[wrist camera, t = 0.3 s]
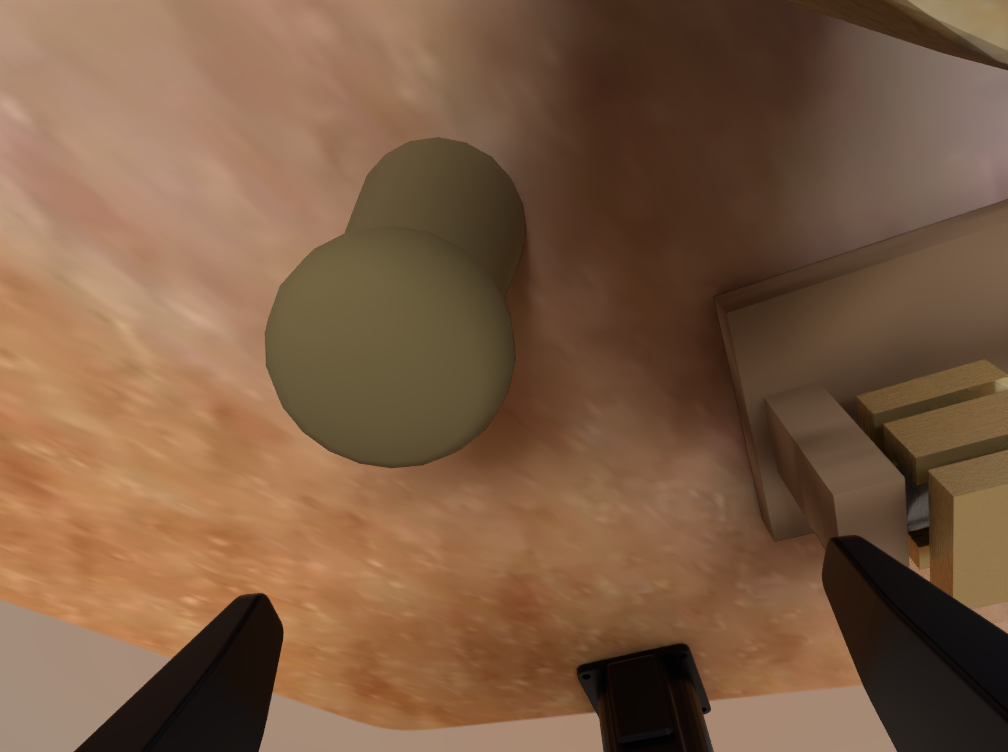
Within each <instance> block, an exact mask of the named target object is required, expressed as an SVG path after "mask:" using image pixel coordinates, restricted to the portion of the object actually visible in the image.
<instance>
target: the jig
mask: <svg viewBox="0 0 1008 752" xmlns="http://www.w3.org/2000/svg"><path fill="white" fill-rule="evenodd" d="M714 300H715V305H716V309H717V314H718V319H719V323H720V328H721V332H722V337H723V341H724V346H725V350H726V355H727V360H728V364H729V369H730V373H731V378H732V382H733V387H734V392H735V396H736V401H737V405H738V410H739V414H740V419H741V424H742V428H743V433H744V437H745V442H746V446H747V451H748V456H749V460H750V465H751V469H752V474H753V478H754V483H755V488H756V492H757V497H758V501H759V506H760V510H761V515H762V519H763V521H764V523H765V524H766V526H767V528H768V530H769V532H770V534H771V536H772V538H773V540H774V542H777V541H781V540H785V539H789V538H793V537H798V536H802V535H806V534H810V533H814V532H815V534H816V535H817V537H818V538H819V540H820V542H821V543H822V545H823V547H824V548H825V550H826V545H827V541H828V540H829V539H830V538H831V537H836V536H846V535H858V536H861V537H863V538H864V539H866V540H868V541H869V542H871V543H872V544H874V545H875V546H877V547H878V548H880V549H881V550H883V551H884V552H886V553H887V554H889V555H890V556H892V557H893V558H895V559H896V560H898V561H899V562H901V563H902V564H904V565H905V566H907V567H909V555H908V534H907V513H906V492H905V477H904V476H903V475H902V474H901V473H900V472H899V471H898V469H897V468H896V467H895V466H894V465H893V464H892V463H891V462H890V460H889V459H888V458H887V457H886V456H885V455H884V454H883V453H882V452H881V450H880V449H879V448H878V447H877V446H876V445H875V444H874V443H873V442H872V440H871V439H870V438H869V437H868V436H867V435H866V434H865V433H864V432H863V430H862V429H861V428H860V427H859V422H858V412H857V401H856V396H857V395H861V394H864V393H868V392H871V391H875V390H879V389H882V388H886V387H889V386H893V385H896V384H900V383H903V382H907V381H910V380H914V379H917V378H921V377H924V376H928V375H931V374H935V373H938V372H942V371H945V370H949V369H952V368H956V367H959V366H963V365H966V364H970V363H973V362H977V361H980V360H984V359H985V360H987V361H988V362H990V363H991V364H993V365H994V366H996V367H997V368H999V369H1000V370H1002V371H1003V372H1004V373H1006V374H1007V375H1008V199H1007V200H1004V201H1001V202H998V203H995V204H992V205H989V206H986V207H983V208H980V209H977V210H974V211H971V212H968V213H965V214H962V215H959V216H956V217H953V218H950V219H947V220H944V221H941V222H938V223H935V224H932V225H929V226H926V227H923V228H920V229H917V230H914V231H911V232H908V233H905V234H902V235H899V236H896V237H893V238H890V239H887V240H883V241H880V242H877V243H874V244H871V245H868V246H865V247H862V248H859V249H856V250H853V251H850V252H847V253H844V254H841V255H838V256H835V257H832V258H829V259H826V260H823V261H820V262H817V263H814V264H811V265H808V266H805V267H802V268H799V269H796V270H793V271H790V272H787V273H784V274H781V275H778V276H775V277H772V278H769V279H766V280H763V281H760V282H757V283H754V284H751V285H748V286H745V287H742V288H739V289H736V290H733V291H730V292H727V293H724V294H721V295H718V296H715V297H714Z"/></svg>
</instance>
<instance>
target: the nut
mask: <svg viewBox="0 0 1008 752" xmlns="http://www.w3.org/2000/svg"><path fill="white" fill-rule="evenodd" d="M856 401H857V412H858V422H859V427H860V428H861V429H862V430H863V432H864V433H865V434H866V435H867V436H868V437H869V438H870V439H871V440H872V442H873V443H874V444H875V445H876V446H877V447H878V448H879V449H880V450H881V452H882V453H883V454H884V455H885V456H886V457H887V458H888V459H889V460H890V462H891V463H892V464H893V465H894V466H895V467H896V466H900V467H901V468H902V469H903V470H904V472H905V473H906V474H907V475H908V476H909V477H910V478H911V479H912V480H913V481H914V483H915V484H916V485H919V484H923V483H927V482H928V504H929V527H926V528H922V529H918V530H914V531H909V532H907V534H908V555H909V557H910V558H911V559H912V560H913V562H914V563H915V564H916V566H917V567H918V568H919V570H922V569H926V568H930V582H931V583H932V584H934V585H935V586H937V587H938V588H940V589H941V590H943V591H944V592H946V593H947V594H949V595H950V596H952V597H953V598H955V599H956V600H958V601H959V602H961V603H962V604H964V605H965V606H967V607H968V608H970V609H975V608H979V607H984V606H989V605H994V604H999V603H1003V602H1008V375H1007V374H1006V373H1004V372H1003V371H1002V370H1000V369H999V368H997V367H996V366H994V365H993V364H991V363H990V362H988V361H987V360H985V359H984V360H980V361H977V362H973V363H970V364H966V365H963V366H959V367H956V368H952V369H949V370H945V371H942V372H938V373H935V374H931V375H928V376H924V377H921V378H917V379H914V380H910V381H907V382H903V383H900V384H896V385H893V386H889V387H886V388H882V389H879V390H875V391H871V392H868V393H864V394H861V395H857V396H856Z"/></svg>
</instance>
